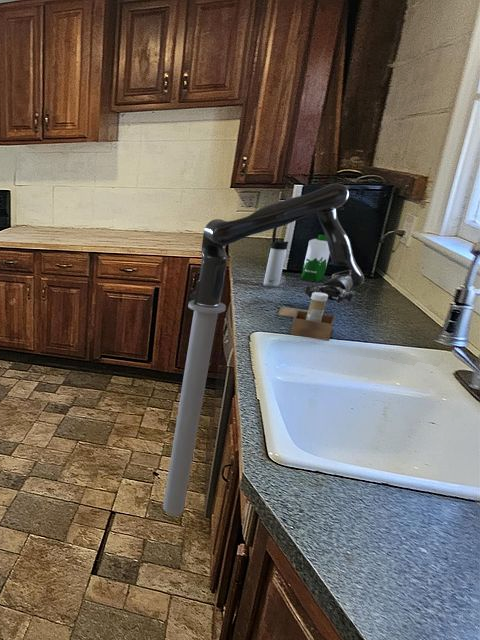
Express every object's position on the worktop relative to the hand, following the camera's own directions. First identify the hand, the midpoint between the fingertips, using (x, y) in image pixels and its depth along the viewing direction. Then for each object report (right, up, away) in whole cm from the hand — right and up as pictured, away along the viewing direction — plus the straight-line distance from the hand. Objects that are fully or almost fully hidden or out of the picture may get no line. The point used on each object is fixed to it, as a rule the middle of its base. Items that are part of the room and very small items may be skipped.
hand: (324, 296), depth 177 cm
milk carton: (+37, +16, +69) cm, 80 cm away
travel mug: (+11, +11, +57) cm, 59 cm away
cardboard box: (-5, -12, -1) cm, 13 cm away
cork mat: (+1, -4, +19) cm, 19 cm away
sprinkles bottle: (-5, -12, -1) cm, 13 cm away
